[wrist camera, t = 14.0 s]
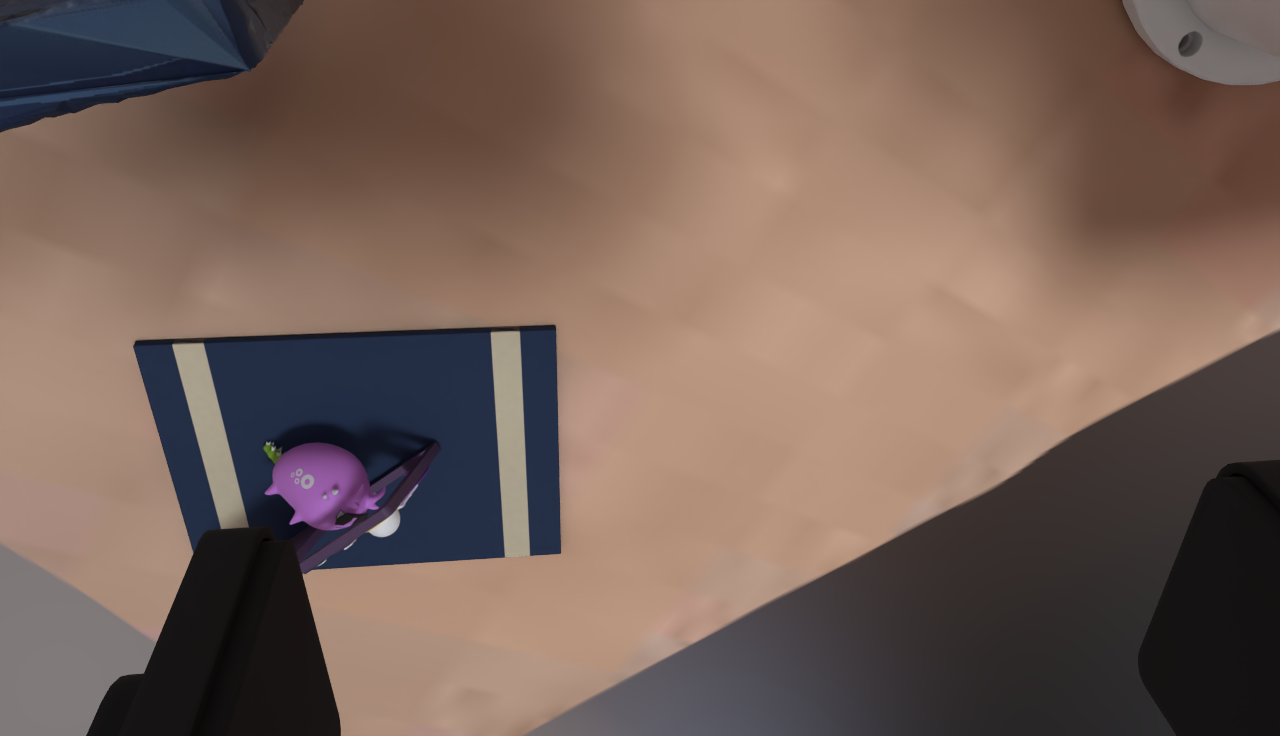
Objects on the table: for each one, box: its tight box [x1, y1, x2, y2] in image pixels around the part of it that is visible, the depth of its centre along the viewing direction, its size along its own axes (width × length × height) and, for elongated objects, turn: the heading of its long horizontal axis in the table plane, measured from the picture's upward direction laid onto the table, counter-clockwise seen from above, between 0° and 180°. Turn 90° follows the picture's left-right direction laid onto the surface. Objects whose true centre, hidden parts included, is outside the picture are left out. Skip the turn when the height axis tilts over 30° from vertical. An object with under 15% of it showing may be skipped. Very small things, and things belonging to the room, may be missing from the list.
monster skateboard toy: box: [263, 441, 441, 574], centre depth 39 cm, size 7×5×9 cm
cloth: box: [133, 326, 561, 570], centre depth 41 cm, size 16×12×1 cm
